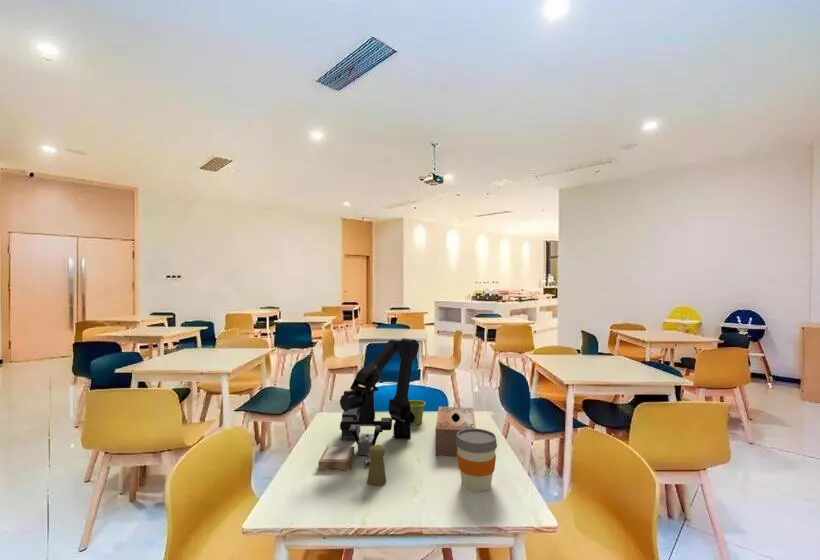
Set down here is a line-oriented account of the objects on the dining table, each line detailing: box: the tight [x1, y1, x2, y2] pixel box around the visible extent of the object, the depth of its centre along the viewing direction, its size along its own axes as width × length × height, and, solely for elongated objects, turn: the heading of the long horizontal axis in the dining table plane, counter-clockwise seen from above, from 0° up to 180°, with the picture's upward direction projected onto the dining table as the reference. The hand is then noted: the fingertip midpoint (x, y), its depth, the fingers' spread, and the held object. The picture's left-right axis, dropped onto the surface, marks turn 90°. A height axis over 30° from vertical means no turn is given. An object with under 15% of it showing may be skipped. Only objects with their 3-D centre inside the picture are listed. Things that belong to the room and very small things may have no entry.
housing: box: [357, 433, 374, 456], centre depth 144 cm, size 5×8×5 cm, turn 177°
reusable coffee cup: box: [456, 428, 498, 493], centre depth 121 cm, size 13×13×15 cm
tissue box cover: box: [435, 406, 477, 458], centre depth 153 cm, size 26×14×10 cm, turn 173°
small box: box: [340, 408, 362, 442], centre depth 159 cm, size 11×6×10 cm, turn 179°
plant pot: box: [409, 399, 426, 425], centre depth 175 cm, size 9×9×9 cm
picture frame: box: [318, 445, 355, 472], centre depth 135 cm, size 10×12×3 cm
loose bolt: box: [363, 459, 370, 468], centre depth 133 cm, size 6×2×2 cm, turn 109°
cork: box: [366, 444, 387, 488], centre depth 122 cm, size 6×6×11 cm
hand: (366, 446), depth 144 cm, fingers closed on housing, 5 cm apart
